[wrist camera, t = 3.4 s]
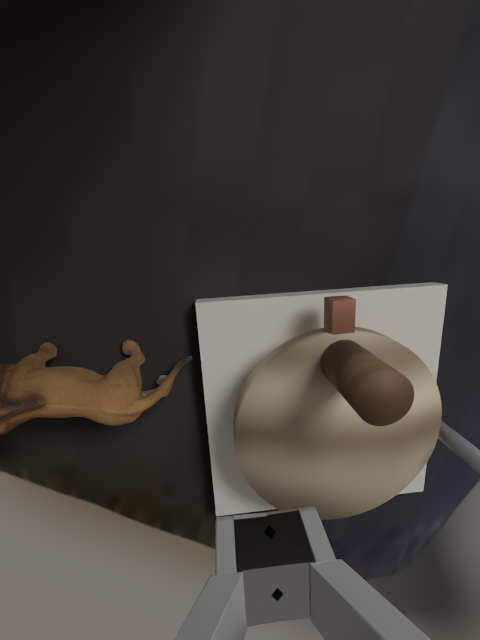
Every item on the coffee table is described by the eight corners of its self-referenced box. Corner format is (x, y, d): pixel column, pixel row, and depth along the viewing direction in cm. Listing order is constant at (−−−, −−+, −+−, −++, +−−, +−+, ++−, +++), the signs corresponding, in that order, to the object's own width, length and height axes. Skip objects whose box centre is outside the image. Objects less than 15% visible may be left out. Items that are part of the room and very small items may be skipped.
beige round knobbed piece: (223, 304, 19) (228, 332, 13) (440, 288, 20) (541, 307, 14) (239, 513, 24) (248, 610, 17) (417, 491, 25) (487, 575, 18)
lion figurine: (13, 409, 23) (-106, 505, 15) (-9, 346, 22) (-155, 411, 13) (197, 383, 24) (187, 460, 15) (187, 321, 23) (170, 367, 14)
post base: (196, 299, 22) (187, 324, 15) (433, 282, 24) (530, 298, 16) (216, 501, 27) (216, 595, 20) (412, 478, 28) (480, 558, 21)
